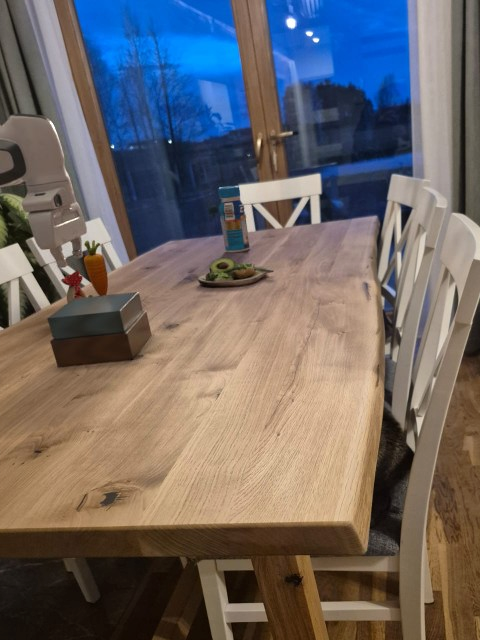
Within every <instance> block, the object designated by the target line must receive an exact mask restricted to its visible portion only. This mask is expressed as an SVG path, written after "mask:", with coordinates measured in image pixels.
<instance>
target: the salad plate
mask: <svg viewBox="0 0 480 640" xmlns="http://www.w3.org/2000/svg"><path fill="white" fill-rule="evenodd" d="M210 263H211V264H209V268H208V270H209V272H208V273H206V274H203V275H201V276H199V277H198V278H197V281H198V283H200V285H201V286H202V287H207V288H224V287H226V288H227V287H238V286H239V287H240V286H246V285H252V284H254V283H256V282H258V281H259V280H262V279H263V278H264V276H266V275H267V274H270V273H271V274H272V273H274V269H268V268H267V267H265V266H262V265H255V264H253V263H250V262H244V263H238V264H237V263H236V261H235V260H233V259H231V258H227V257H223V258H219V259H216V260H214V261H213V262H210Z"/></svg>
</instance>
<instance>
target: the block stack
mask: <svg viewBox="0 0 480 640" xmlns="http://www.w3.org/2000/svg"><path fill="white" fill-rule="evenodd" d="M93 296H94V295H93ZM141 300H142V299H141V296H140V292H139V291H134V292H125V293H124V292H123V293H115V294H106V295H104V296H99V295H95V296H94V297H88V296H86V297H85V298H75V299H73V300H71V301H70V302H69V303H68V302H66V304H64V305H63V306H62V307H60V308H59V309H58V310H57V311H55V312H54V313H52V314H51V315H49V316H48V317H47V322H48V325H49V328H50V333H51V335H52V339H50V341H49V343H50V347H51V349H52V352H53V356H54V359H55V363H56V366H57V367H58V368H59V367H60V368H61V367H71V366H82V365H91V364H100V363H110V362H112V363H113V362H122V361H131V360H134V359H135V358H136V357H137V355H138V354H139V352H140V351H142V348H143V347H144V346H145V344H146V343H147V342H148V340H149V338H151V337H152V330H151V325H150V321H149V317H148V311H147V310H144V309H143V304H142V301H141Z"/></svg>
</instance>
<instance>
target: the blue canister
mask: <svg viewBox="0 0 480 640" xmlns="http://www.w3.org/2000/svg"><path fill="white" fill-rule="evenodd" d="M217 191H218V197H219V199H220V200H221V201H220V204H219V206H218V212H219V214H220V216H219V221H220V225H221V231H222V238H223V242H224V250H225V251H224V252H226V253H228V254H229V253H230V254H231V253H232V254H233V253H242V252H247V251H249V250H250V249H251V247H250V241H249V233H248V226H247V215H246V213H245V205H244V203H243V202H242V201H241V199H240V197H241V190H240V186H239V185H227V186H222V187H221V186H220V187H219V188H218V190H217Z"/></svg>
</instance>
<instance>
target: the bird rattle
mask: <svg viewBox="0 0 480 640" xmlns="http://www.w3.org/2000/svg"><path fill="white" fill-rule="evenodd" d="M60 280H61V282H62V283H63V284H64V285H66V286H68V287H67V291H66V303H69V302H70V301H71V300H73V299H75V298H85V297H94V295H92V294H89V295H88V296H87V294H85V292H84V290H83V289H82V288H81V286H79V285H81V283H82V281H83V275H80V271H79V270H78V269H77V270H75V271H73V273H71V274H69V275H66V276H64V278H61V279H60Z"/></svg>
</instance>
